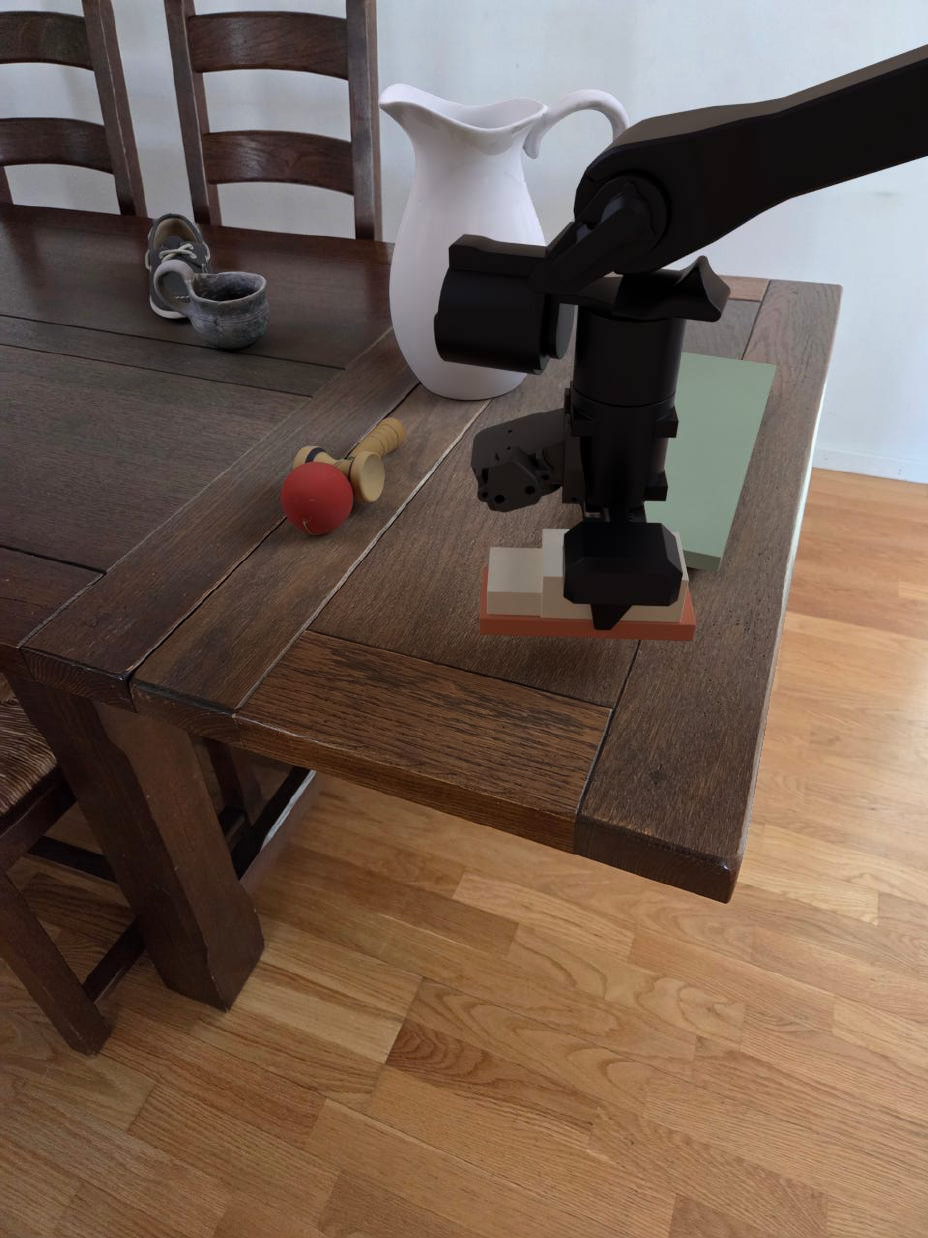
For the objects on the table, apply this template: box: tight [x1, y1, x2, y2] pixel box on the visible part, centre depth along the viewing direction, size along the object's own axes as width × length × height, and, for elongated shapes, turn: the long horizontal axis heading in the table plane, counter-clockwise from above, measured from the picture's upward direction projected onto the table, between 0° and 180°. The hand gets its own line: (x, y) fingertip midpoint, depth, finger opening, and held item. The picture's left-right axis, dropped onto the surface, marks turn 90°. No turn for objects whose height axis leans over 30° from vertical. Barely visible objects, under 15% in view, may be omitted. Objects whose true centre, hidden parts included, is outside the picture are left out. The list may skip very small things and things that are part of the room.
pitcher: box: [377, 83, 632, 401], centre depth 87 cm, size 24×17×28 cm
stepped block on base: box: [478, 528, 697, 642], centre depth 57 cm, size 14×6×5 cm, turn 86°
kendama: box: [280, 417, 407, 536], centre depth 77 cm, size 8×6×18 cm
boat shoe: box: [144, 212, 212, 319], centre depth 115 cm, size 25×9×8 cm, turn 13°
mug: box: [154, 260, 271, 350], centre depth 100 cm, size 10×12×10 cm
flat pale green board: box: [644, 351, 777, 574], centre depth 80 cm, size 36×11×3 cm, turn 158°
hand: (600, 599), depth 58 cm, fingers closed on stepped block on base, 5 cm apart
